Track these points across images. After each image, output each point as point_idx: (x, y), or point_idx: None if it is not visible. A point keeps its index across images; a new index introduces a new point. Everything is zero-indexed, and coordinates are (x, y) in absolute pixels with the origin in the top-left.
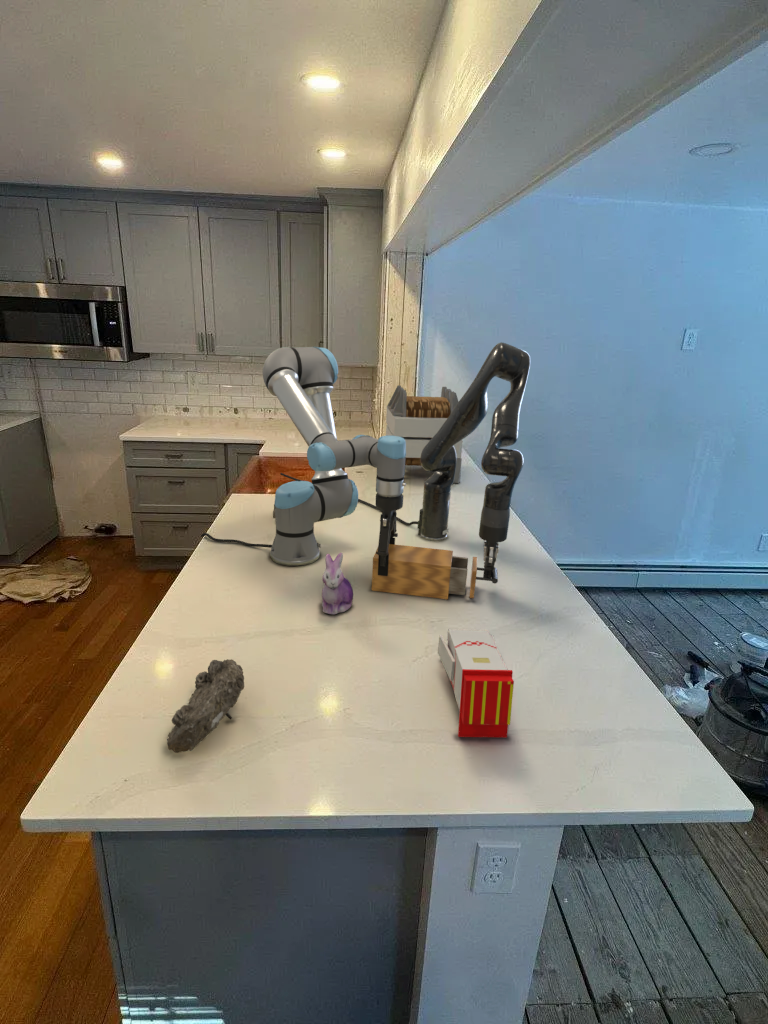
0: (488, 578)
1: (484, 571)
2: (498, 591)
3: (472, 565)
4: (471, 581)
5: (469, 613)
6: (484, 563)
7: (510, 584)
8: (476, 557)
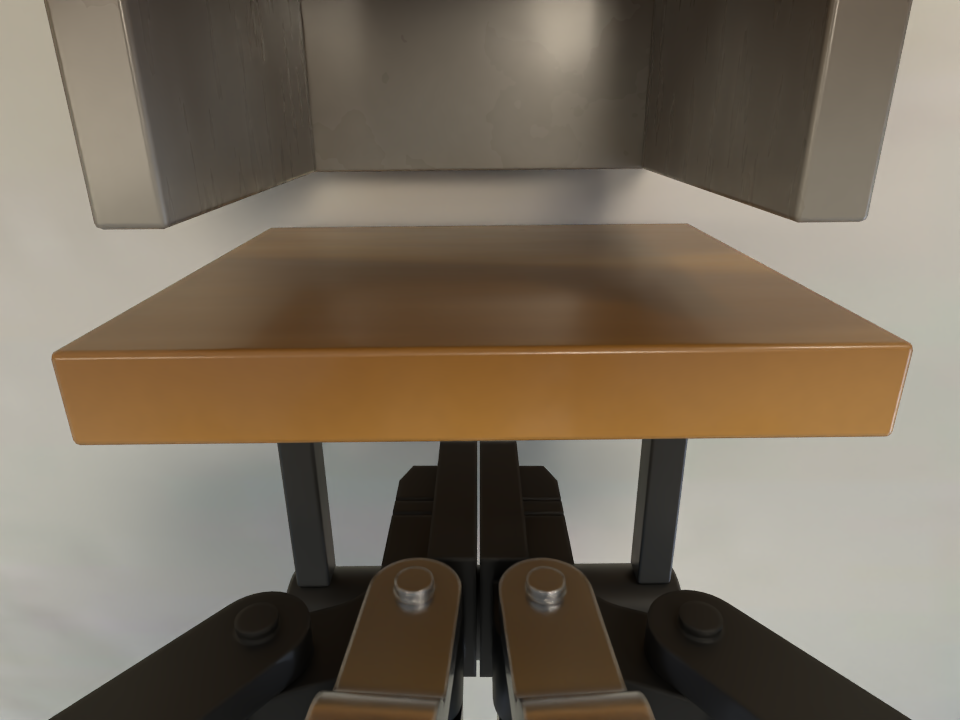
0: (303, 548)
1: (429, 520)
2: (583, 502)
3: (459, 335)
4: (169, 287)
5: (3, 235)
6: (528, 591)
7: (750, 599)
8: (864, 424)
